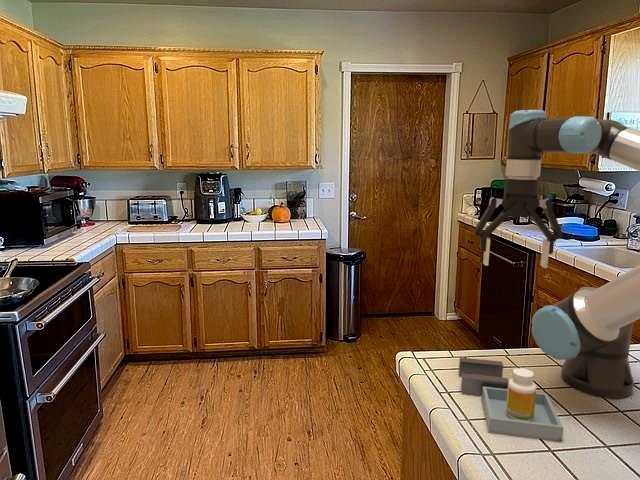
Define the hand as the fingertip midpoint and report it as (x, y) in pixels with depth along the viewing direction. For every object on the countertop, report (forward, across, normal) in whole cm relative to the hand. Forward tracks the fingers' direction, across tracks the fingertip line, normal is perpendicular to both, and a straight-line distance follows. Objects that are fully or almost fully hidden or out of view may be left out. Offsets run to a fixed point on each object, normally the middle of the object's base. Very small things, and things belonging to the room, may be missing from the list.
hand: (514, 265), depth 117 cm
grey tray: (+27, +2, +23) cm, 36 cm away
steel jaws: (+27, +7, +9) cm, 30 cm away
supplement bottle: (+27, +2, +23) cm, 36 cm away
